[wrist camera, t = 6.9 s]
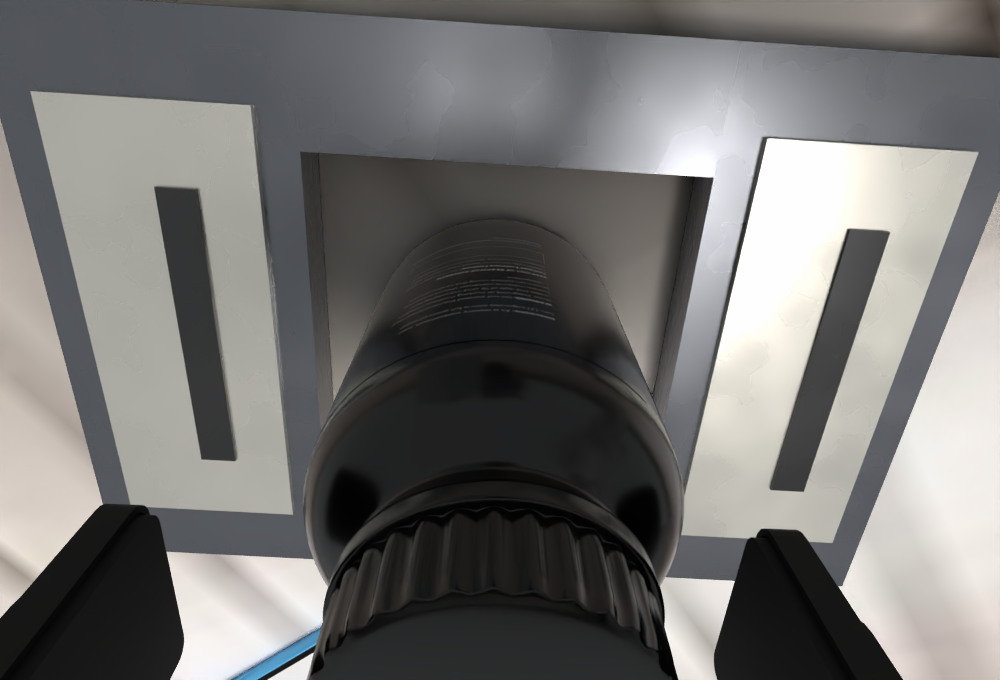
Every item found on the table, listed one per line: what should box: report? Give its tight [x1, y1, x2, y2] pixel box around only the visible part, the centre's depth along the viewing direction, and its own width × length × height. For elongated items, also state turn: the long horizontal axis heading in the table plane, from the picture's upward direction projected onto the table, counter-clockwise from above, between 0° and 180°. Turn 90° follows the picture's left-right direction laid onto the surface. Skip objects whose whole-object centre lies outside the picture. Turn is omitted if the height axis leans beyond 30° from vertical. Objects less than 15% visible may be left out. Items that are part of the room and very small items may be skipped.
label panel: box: [0, 0, 1000, 586], centre depth 18 cm, size 16×24×2 cm, turn 87°
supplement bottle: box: [303, 219, 684, 680], centre depth 13 cm, size 7×7×12 cm
